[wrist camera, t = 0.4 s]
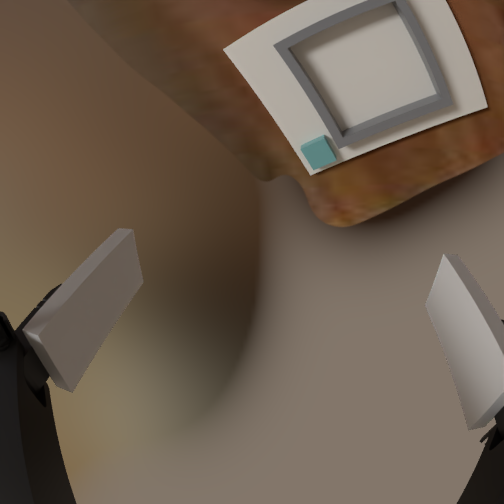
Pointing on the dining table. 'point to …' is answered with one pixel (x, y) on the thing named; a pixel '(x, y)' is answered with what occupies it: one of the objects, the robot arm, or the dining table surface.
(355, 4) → the pocket plate
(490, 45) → the dining table surface
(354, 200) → the dining table surface
